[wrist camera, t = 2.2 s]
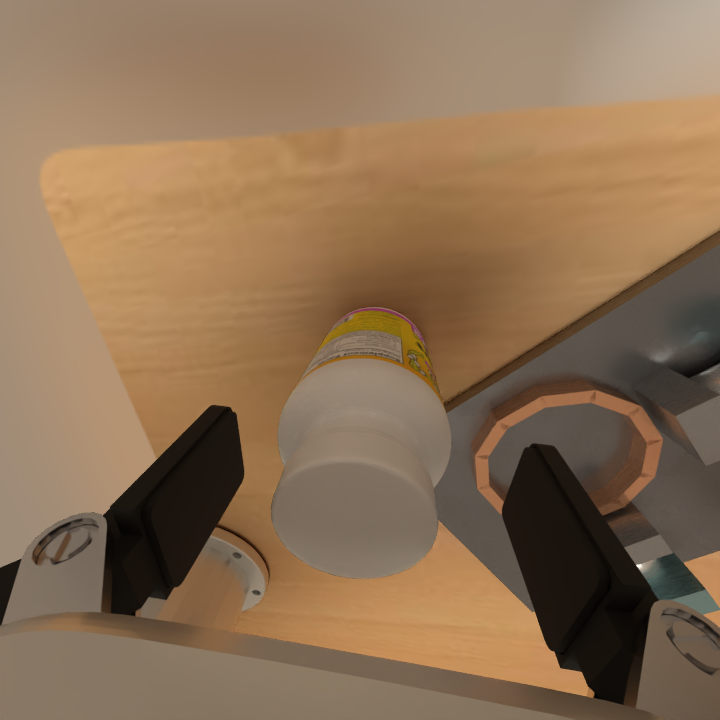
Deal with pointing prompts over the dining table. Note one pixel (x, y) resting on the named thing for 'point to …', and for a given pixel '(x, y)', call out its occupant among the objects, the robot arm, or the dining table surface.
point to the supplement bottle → (363, 450)
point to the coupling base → (608, 429)
